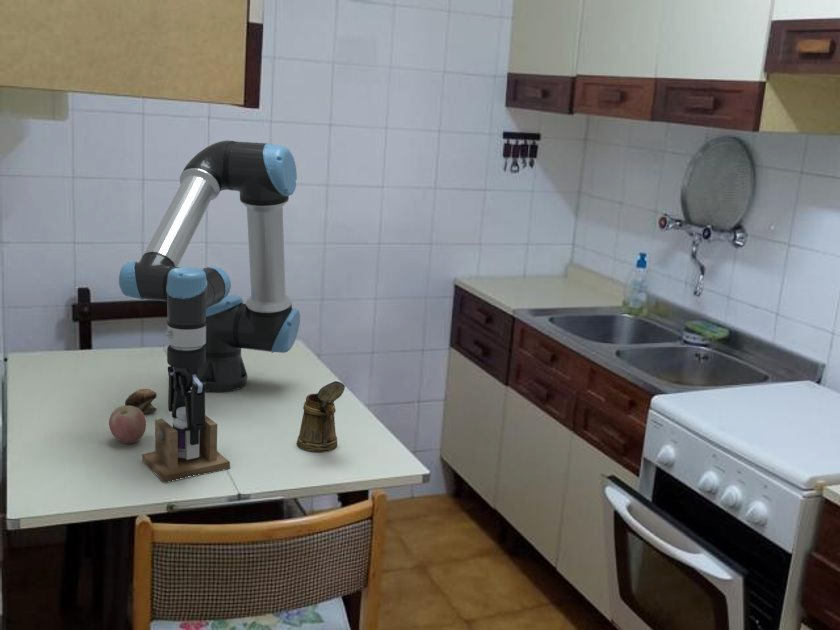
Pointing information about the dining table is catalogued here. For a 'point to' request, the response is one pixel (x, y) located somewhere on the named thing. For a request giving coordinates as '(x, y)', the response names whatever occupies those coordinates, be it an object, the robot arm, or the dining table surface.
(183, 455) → the pill bottle
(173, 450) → the holder
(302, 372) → the dining table surface
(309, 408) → the wooden mug
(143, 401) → the mushroom
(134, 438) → the apple
